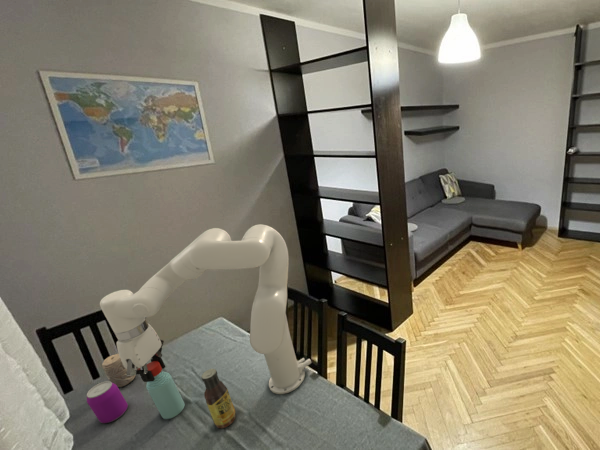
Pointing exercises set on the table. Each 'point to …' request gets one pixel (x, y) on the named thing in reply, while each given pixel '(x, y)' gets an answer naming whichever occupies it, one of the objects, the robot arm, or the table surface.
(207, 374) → the sauce bottle
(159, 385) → the water bottle
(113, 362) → the carving
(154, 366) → the cap
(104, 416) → the beverage can
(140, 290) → the robot arm
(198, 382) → the table surface
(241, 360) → the table surface
